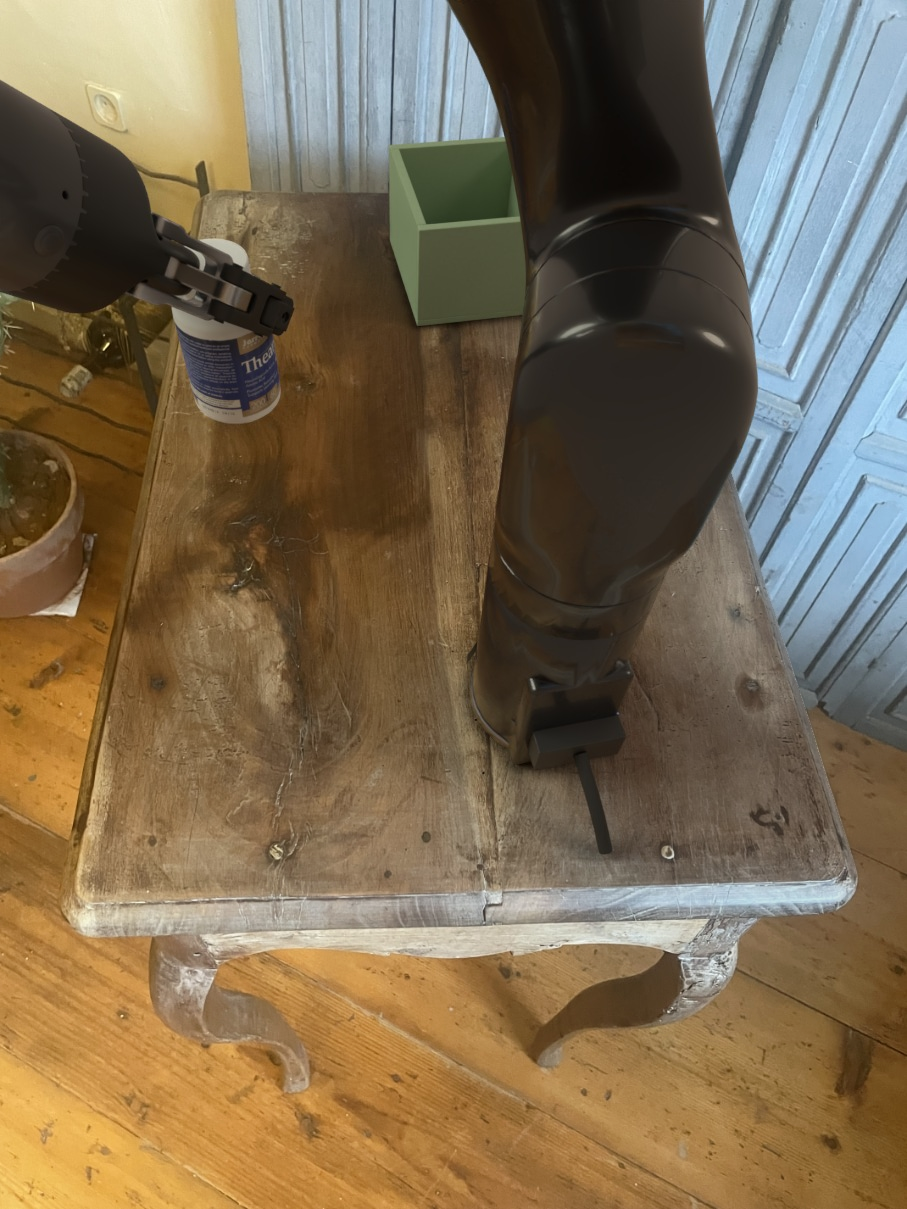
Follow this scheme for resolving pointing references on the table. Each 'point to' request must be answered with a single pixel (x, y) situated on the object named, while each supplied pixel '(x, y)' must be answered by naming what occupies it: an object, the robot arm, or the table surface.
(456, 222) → the bin
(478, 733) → the table surface
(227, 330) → the pill bottle
